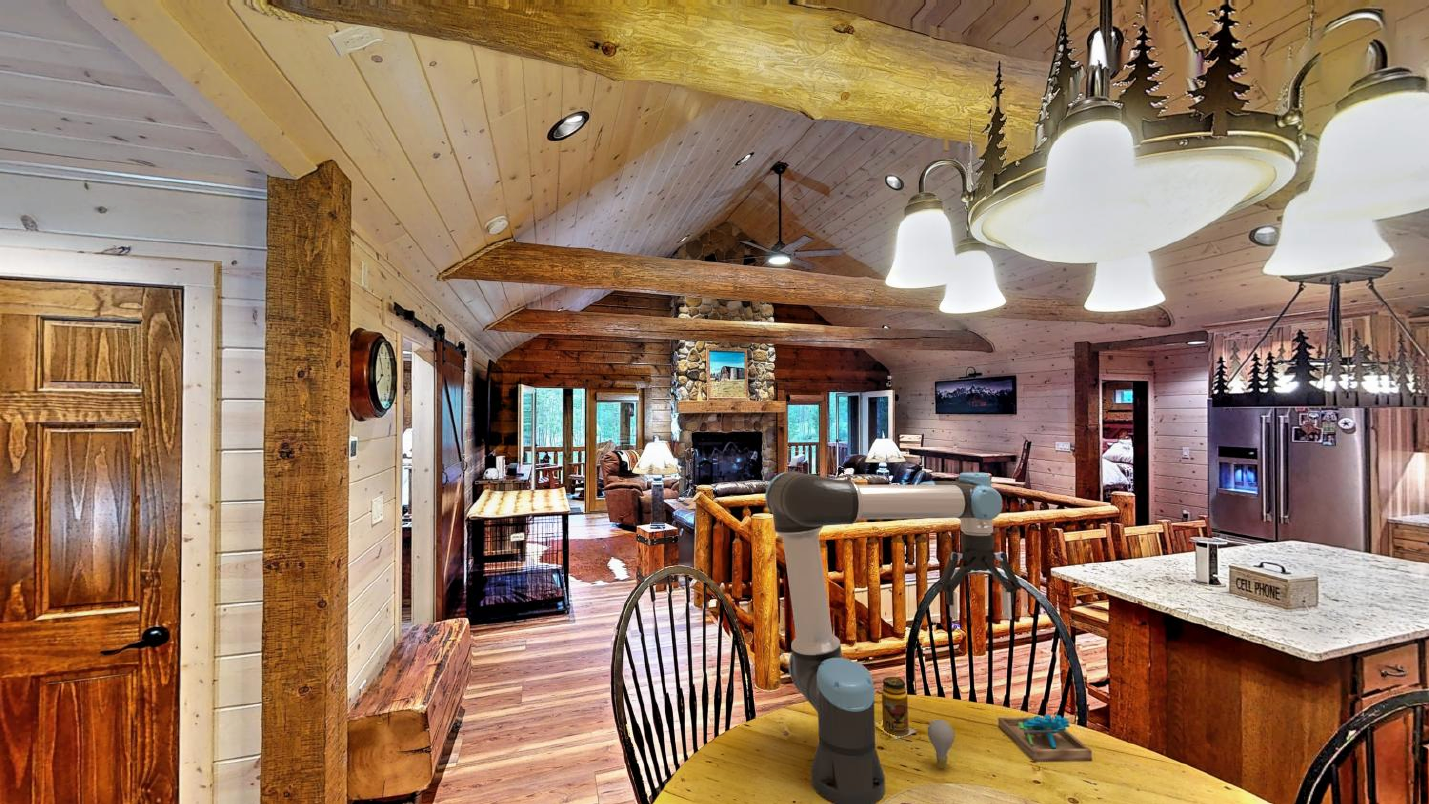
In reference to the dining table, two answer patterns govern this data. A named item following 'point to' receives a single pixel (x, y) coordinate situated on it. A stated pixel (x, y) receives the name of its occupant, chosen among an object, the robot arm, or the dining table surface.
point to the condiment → (895, 708)
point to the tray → (1045, 743)
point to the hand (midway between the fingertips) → (980, 618)
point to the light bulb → (941, 740)
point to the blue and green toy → (1044, 727)
